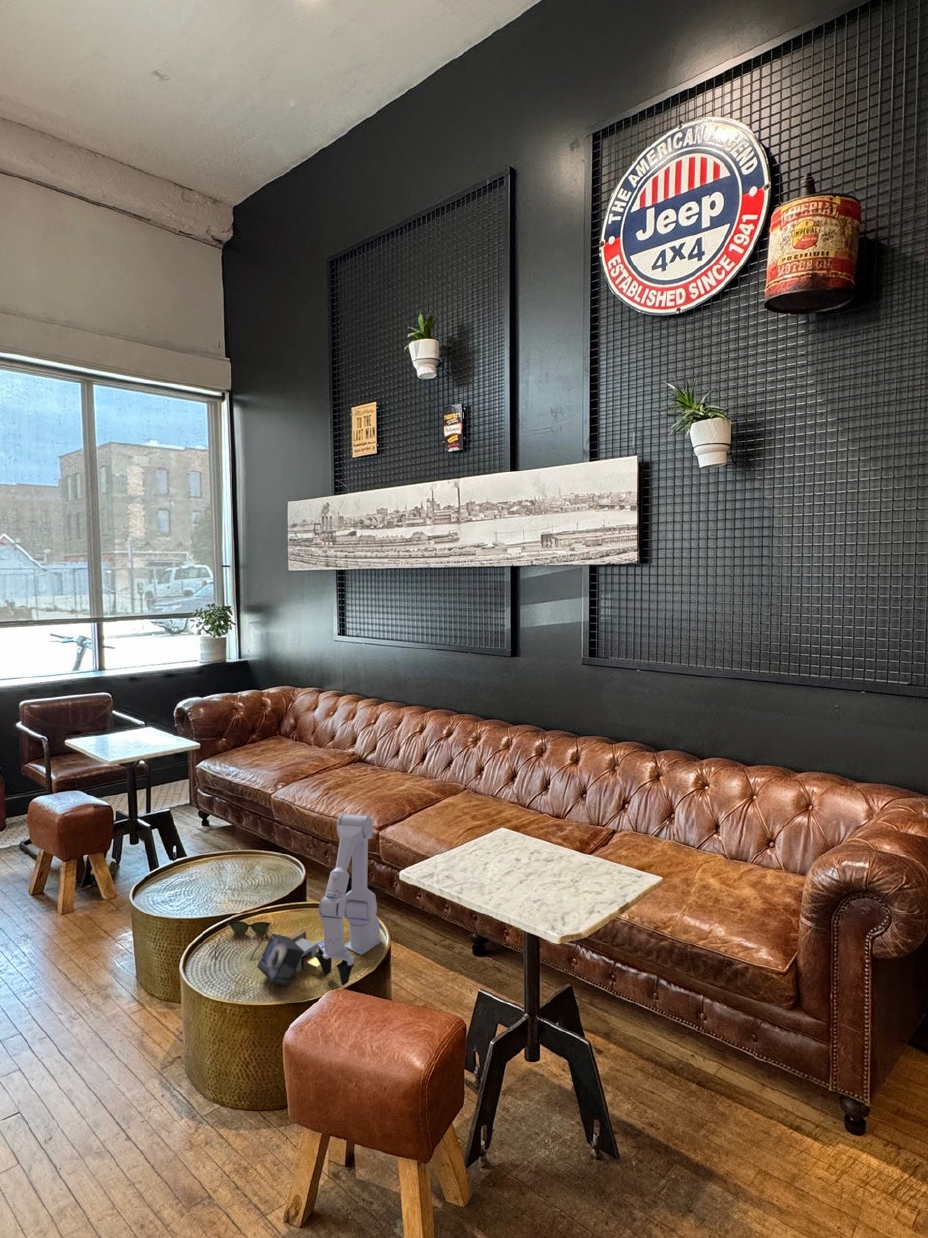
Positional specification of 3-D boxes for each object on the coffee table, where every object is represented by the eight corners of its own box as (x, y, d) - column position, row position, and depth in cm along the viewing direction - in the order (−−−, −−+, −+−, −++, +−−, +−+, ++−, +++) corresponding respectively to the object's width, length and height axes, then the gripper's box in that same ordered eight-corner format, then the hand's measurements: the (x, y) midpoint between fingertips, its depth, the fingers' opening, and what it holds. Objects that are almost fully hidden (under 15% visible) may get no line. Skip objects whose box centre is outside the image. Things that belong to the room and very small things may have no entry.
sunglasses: (271, 935, 242) (270, 922, 241) (255, 966, 227) (253, 951, 226) (230, 934, 243) (228, 920, 242) (210, 964, 229) (209, 950, 228)
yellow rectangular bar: (302, 960, 227) (301, 950, 227) (324, 971, 222) (324, 961, 221) (294, 965, 225) (293, 956, 224) (317, 976, 219) (316, 966, 219)
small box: (255, 966, 218) (271, 932, 221) (272, 970, 222) (288, 936, 225) (271, 983, 210) (288, 947, 213) (289, 986, 214) (305, 951, 217)
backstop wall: (302, 946, 234) (301, 929, 233) (306, 949, 233) (305, 931, 232) (269, 967, 224) (268, 948, 223) (273, 969, 223) (272, 951, 222)
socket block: (301, 952, 231) (300, 937, 231) (317, 959, 227) (316, 944, 227) (280, 965, 224) (279, 950, 224) (296, 973, 220) (295, 957, 220)
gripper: (306, 933, 214) (309, 976, 216) (340, 950, 206) (343, 995, 207) (325, 923, 220) (327, 965, 222) (358, 939, 211) (361, 982, 213)
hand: (336, 978), depth 215 cm, fingers open, 7 cm apart
